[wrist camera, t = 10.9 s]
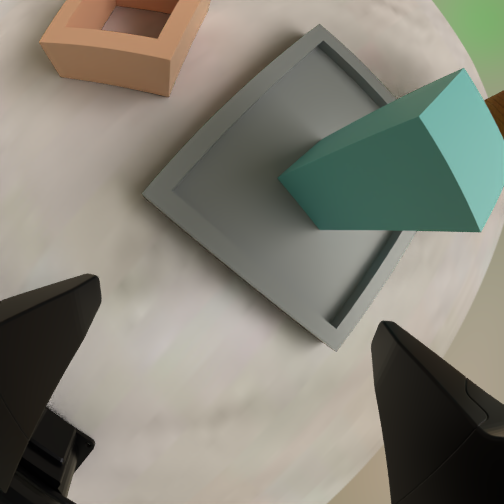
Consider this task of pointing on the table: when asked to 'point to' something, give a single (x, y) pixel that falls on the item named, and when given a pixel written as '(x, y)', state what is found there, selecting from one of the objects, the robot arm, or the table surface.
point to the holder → (122, 44)
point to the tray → (283, 188)
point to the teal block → (407, 165)
